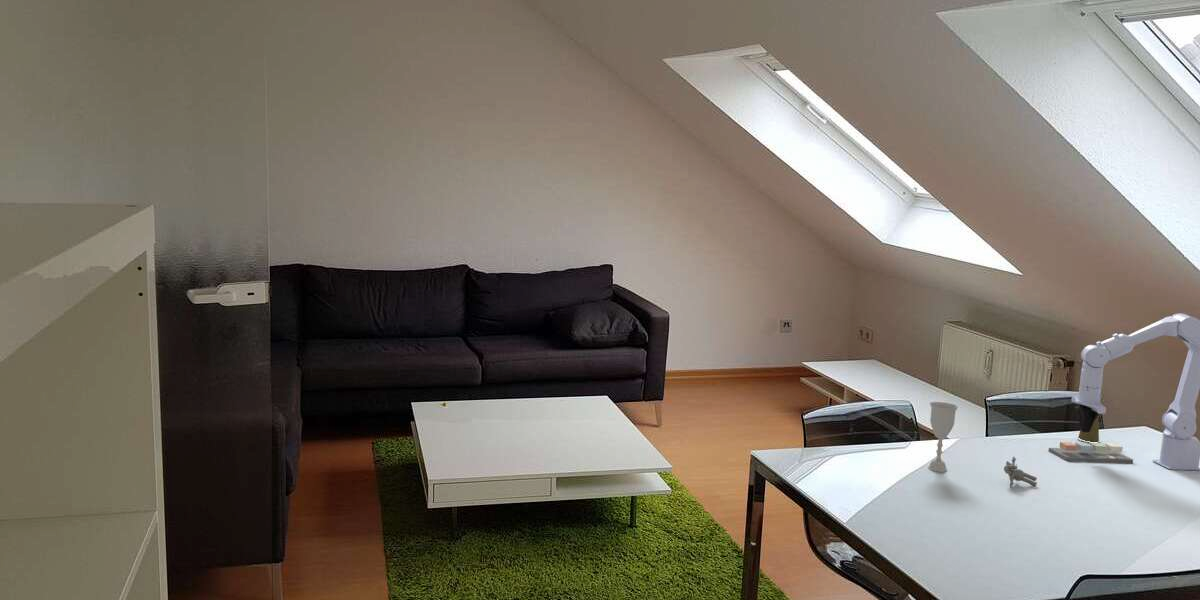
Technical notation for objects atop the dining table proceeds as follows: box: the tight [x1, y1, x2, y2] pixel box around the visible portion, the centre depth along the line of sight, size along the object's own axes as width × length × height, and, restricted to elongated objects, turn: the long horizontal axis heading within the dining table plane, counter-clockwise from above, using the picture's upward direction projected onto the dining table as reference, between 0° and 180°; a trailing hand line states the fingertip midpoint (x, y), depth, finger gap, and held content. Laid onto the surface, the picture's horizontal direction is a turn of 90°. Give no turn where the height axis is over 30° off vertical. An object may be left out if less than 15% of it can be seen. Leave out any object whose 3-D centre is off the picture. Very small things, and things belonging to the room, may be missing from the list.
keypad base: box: [1048, 447, 1134, 464], centre depth 285 cm, size 20×10×1 cm, turn 94°
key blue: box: [1074, 441, 1092, 451], centre depth 285 cm, size 3×3×2 cm
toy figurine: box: [1003, 456, 1038, 488], centre depth 255 cm, size 10×6×9 cm
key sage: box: [1089, 442, 1108, 452], centre depth 285 cm, size 3×3×2 cm
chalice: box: [927, 401, 959, 473], centre depth 265 cm, size 7×7×18 cm
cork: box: [1077, 414, 1102, 442], centre depth 303 cm, size 6×6×11 cm
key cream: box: [1104, 442, 1123, 453], centre depth 285 cm, size 3×3×2 cm
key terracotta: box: [1058, 441, 1077, 451], centre depth 285 cm, size 3×3×2 cm
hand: (1085, 431), depth 284 cm, fingers closed
